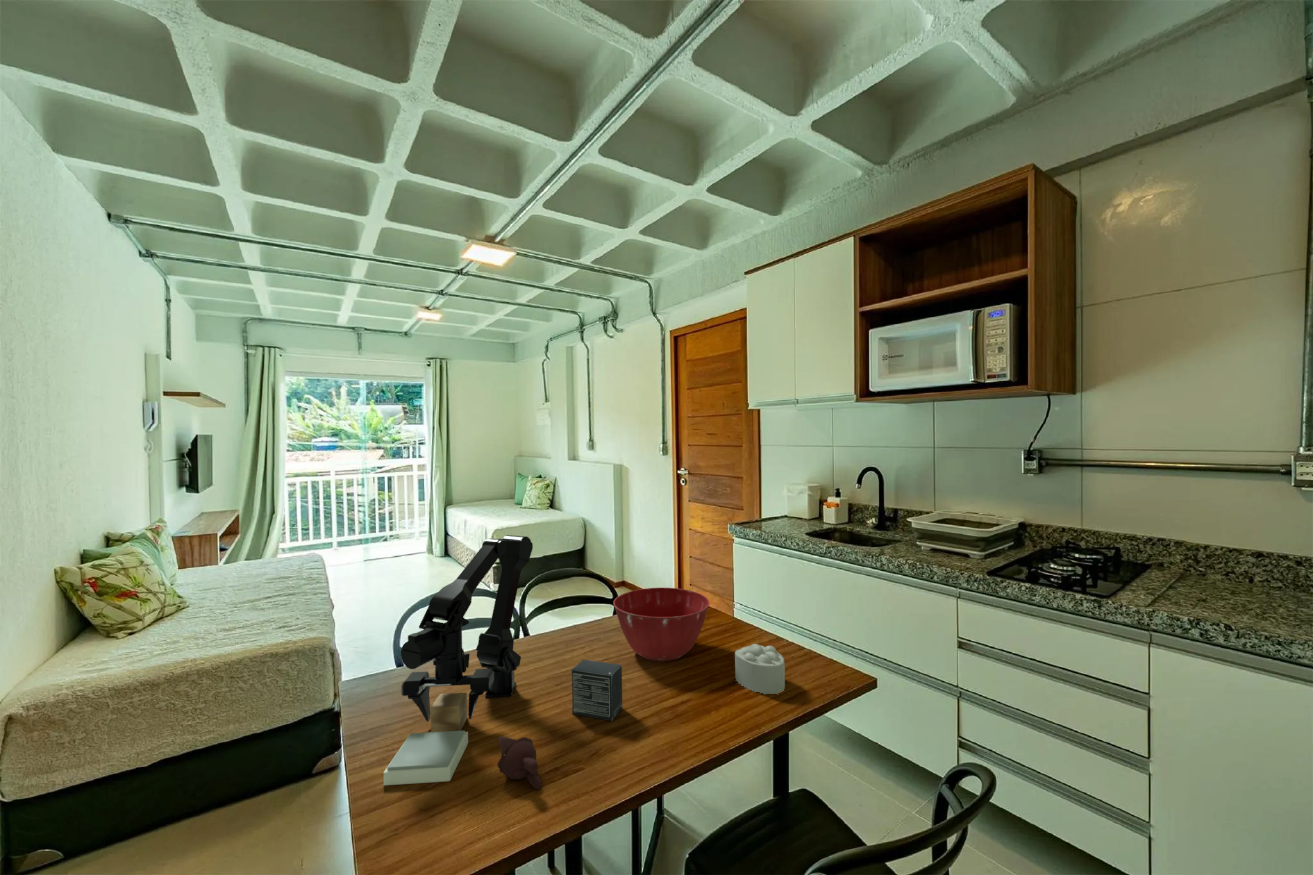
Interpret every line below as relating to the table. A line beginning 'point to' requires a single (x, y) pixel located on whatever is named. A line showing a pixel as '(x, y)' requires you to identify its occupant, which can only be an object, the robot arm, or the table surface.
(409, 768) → the pedestal
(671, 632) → the mixing bowl
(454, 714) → the oak cube
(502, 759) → the maroon toy figure
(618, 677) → the small box
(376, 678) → the table surface
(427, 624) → the robot arm
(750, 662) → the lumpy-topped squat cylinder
